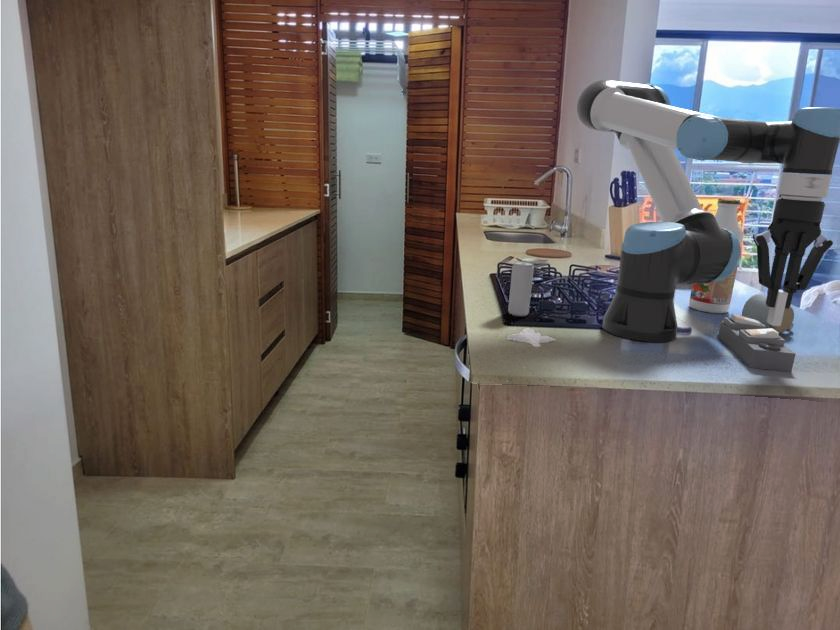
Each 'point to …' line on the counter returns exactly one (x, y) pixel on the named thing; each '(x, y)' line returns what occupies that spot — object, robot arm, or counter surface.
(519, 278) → the beverage can
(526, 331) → the acanthus leaf ornament
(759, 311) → the ceramic mug
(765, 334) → the rocker outlet
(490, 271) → the counter surface
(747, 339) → the power strip
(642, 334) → the robot arm
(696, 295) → the fruit juice
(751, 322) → the rocker outlet
